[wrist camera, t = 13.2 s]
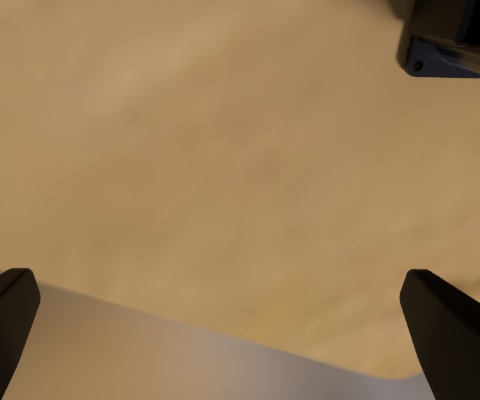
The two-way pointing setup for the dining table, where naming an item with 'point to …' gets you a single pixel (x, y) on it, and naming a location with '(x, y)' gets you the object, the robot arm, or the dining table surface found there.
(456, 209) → the dining table surface
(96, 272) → the dining table surface
